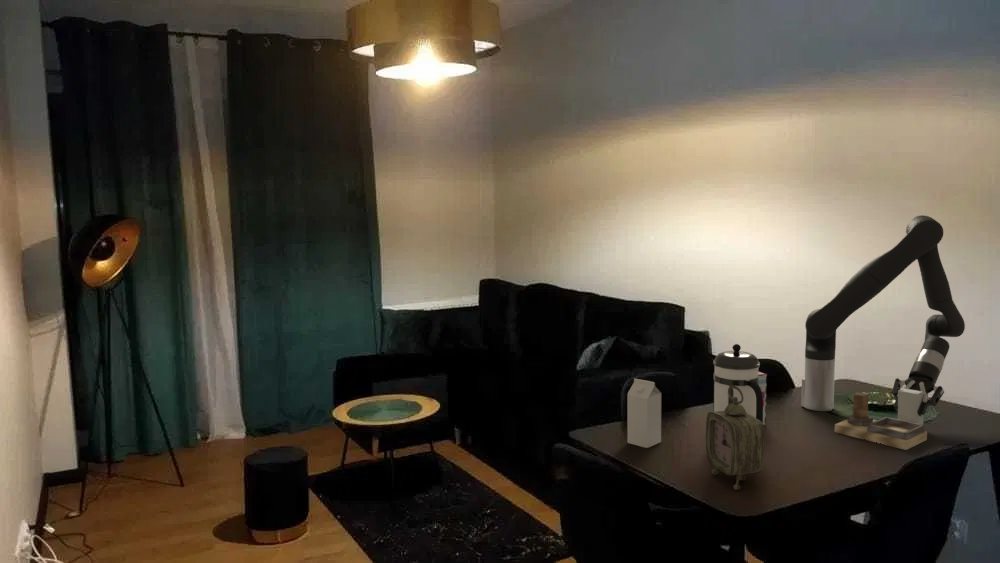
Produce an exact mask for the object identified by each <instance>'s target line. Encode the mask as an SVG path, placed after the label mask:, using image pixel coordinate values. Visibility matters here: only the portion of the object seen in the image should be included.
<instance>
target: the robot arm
mask: <svg viewBox="0 0 1000 563" xmlns="http://www.w3.org/2000/svg"><path fill="white" fill-rule="evenodd" d="M905 234H906V235H905V236H904V237H903V238H901V240H899V242H898V243H896V245H894V246H893V247H892V248H890V249H889V250H887V251H886V252H884V253H882V254H881V255H878V256H877V257H875V258H873V259H872V260H870V261H869V262H867V263H866V264H864V265H863V267H861V268H860V269H859V270H858V271H857V272H856V273H855V274H854V275H852V276H851V278H850V279H849V280H848V281H846V283H845V284H844V286H843V287H842V288H841V290H839V292H838V293H837V294H836V295H835V296H834V297H833V298H832V299H831V300H830V301H829V302H827V303H826V304H825V305H824V306H823V307H820V308H818V309H814V310H813V311H811V312H810V313H809V314H808V316H807V317H806V319H805V330H806V331H805V347H804V348H805V349H804V377H803V378H802V379H801V396H800V400H801V401H800V402H801V403H800V406H801V407H804V408H805V409H807V410H811V411H815V412H829V411H832V409H833V410H834V405H835V403H834V402H835V400H834V399H835V374H836V373H835V368H836V349H837V348H836V347H837V346H836V345H837V344H836V343H837V342H836V340H837V330H838V329H839V327H840V326H841V325H842V324H843V323H844V322H845V321H846V320H847V319H848V318H849V317H850V316H851V315H852V314H854V313H855V312H856V311H857V310H859V309H860V308H862V307H863V306H865V305H866V304H867V303H869V302H870V301H871V300H873V299H874V298H875V297H876V296H878V294H880V293H881V292H882V291H883V290H885V289H886V287H888V286H889V284H891V283H892V282H893V281H894V280H895V279H897V277H899V276H900V275H901V274H902V273H903V272H904V271H905V270H906V269H907V268H908V267H909V266H910V265H911V264H913V263H914V262H916V260H917V263H918V266H919V270H920V271H919V272H920V276H921V279H922V280H921V281H922V286H923V290H924V294H925V299H926V303H927V307H928V308H929V309H931V310H933V311H936V312H940V313H941V314H932V315H931V316H929V318H927V320H926V322H925V334H924V341H923V344H922V347H921V349H920V351H919V353H918V354H917V356H916V358H915V361H914V362H913V365H912V367H911V369H910V371H909V374H908V377H907V378H906V379H904V380H903V379H900V378H898V377H897V378H895V379H894V382H893V383H894V384H893V387H892V390H891V394H892V396H893V398H894V399H895V401H894V403H893V408H894V410H895V411H896V412H898V391H899V390H901V389H903V388H905V389H911V390H916V391H922V392H924V393H923V397H922V399H923V402H921V404H920V407H919V409H918V411H917V413H918V415H919V416H922V415H923V416H924V415H925V414H926V412H927V410H928V408H929V407H930V406H932V407H936V406H937V405H938V404H939V402H940V400H941V399H942V397H943V395H944V393H945V390H944V388H943V387H942V386H941V385H939V386H937V385H936V384H937V382H938V379H939V376H940V375H941V371H943V367H944V364H945V360H946V357H947V356H948V352H949V351H950V343H949V341H947V340H946V339H945V338H958V337H961V336H962V335H963V334H964V332H965V329H966V325H965V324H966V323H965V320H964V317H963V316H962V314H961V313H960V311H959V309H958V308H957V305H956V303H955V302H954V300H953V296H952V291H951V286H950V282H949V281H948V277H947V274H946V271H945V268H944V266H943V263H942V260H941V258H940V257H941V256H940V252H939V249H938V248H939V246H938V244H939V243H940V242H941V241H942V240H943V237H944V228H943V226H942V225H941V223H940V222H938V221H937V220H936V219H935V218H933V217H931V216H928V215H925V214H924V215H917V216H914V217H913V218H911V219H910V220H909V221H908V223H907V224H906V229H905ZM943 337H945V338H943ZM904 386H905V387H904ZM932 392H934V393H933V394H932V396H931V397H930V399H929V394H930V393H932Z"/></svg>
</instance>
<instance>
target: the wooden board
mask: <svg viewBox="0 0 1000 563" xmlns="http://www.w3.org/2000/svg"><path fill="white" fill-rule="evenodd" d="M869 396H870V394H868V393H863V392H856V393H854V394H853V403H852V404H853V407H852V408H853V409H852V410H853V412H852V414H850V415H848V416H847V419H844V420H841V421H840V422H838V423H834V433H837V434H839V435H845V436H847V437H848V436H849V437H852V438H857V439H861V440H864V439H865V440H864V441H869V442H872V443H876V442H877V443H876V444H880V443H881V444H880V445H885V446H888V447H893V448H897V449H901V450H905V451H907V450H909V449H911V448H913V447H915V446H917V445H919V444H921V443H923V442H925V441H927V440H928V431H927V430H925V428H926V426H925V424H923V425H921V424H917V423H912V422H908V421H903V420H899V419H898V418H892V417H889V416H883V417H882V418H879V419H875V418H874V417H873V416H871V415H869Z"/></svg>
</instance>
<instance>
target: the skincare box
mask: <svg viewBox="0 0 1000 563" xmlns="http://www.w3.org/2000/svg"><path fill="white" fill-rule="evenodd" d="M923 393H924V392H922V391H916V390H911V389H905V388H904V387H902V388H901V389H900V390H899V391H898V411H897V419H899V420H903V421H908V422H912V423H917V424H921V425H924V415H922V416H919V415H918V413H917V411H918V409H919V407H920V404H921V402H923V399H922V397H923Z"/></svg>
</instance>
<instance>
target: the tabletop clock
mask: <svg viewBox="0 0 1000 563" xmlns="http://www.w3.org/2000/svg"><path fill="white" fill-rule="evenodd" d="M731 388H734V389H736V390H738V391H739V393H740V395H741V398H742V399H741V401H738V398H737V397H734V398H732V397H731V395H730V389H731ZM728 396H729V398H730V399H731V400H732V401H733V403H732V404H729V405H728V406H727V407H726V408H725V411H717V412H714V411H710V412H708V413H707V417H706V424H705V447H706V449H705V450H706V455H707V460H708V462H710V464H711V465H712V466H713V467H714V468H713V469H712V470H711V474H712V475H714V476H717V475H719V472H721V473H723V474H725V475H726V476H736V477H735V484H734V485H733V490H735V491H736V490H738V491H740V490H741V485H740V484H739V483H740V481H741V480H744V481H746V476H745V474H754V473H760V471H762V469H764V466H765V464H766V462H765V461H766V452H767V451H766V449H767V446H766V444H767V443H766V440H767V439H766V438H767V437H766V435H767V434H766V428H765V426H766V425H764V424H763V423H762V422H761V421H760V420H758V419H756V418H755V417H753V416H751V415H749V414H747V413H746V411H745V409H744V407H743V406H742V405H741V403H742V402H743V393H742V391H741V390H740V389H739V388H738V387H736V386H730V387H729V388H728Z"/></svg>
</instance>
